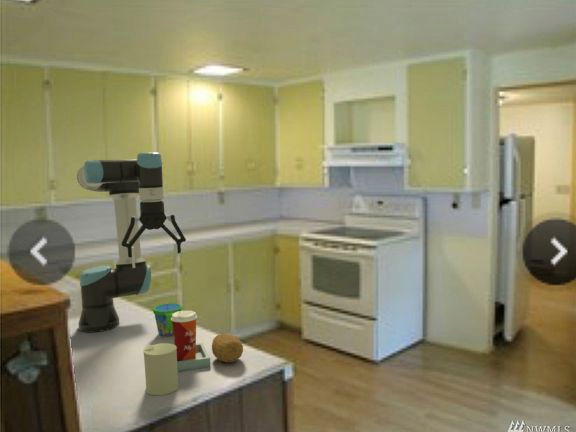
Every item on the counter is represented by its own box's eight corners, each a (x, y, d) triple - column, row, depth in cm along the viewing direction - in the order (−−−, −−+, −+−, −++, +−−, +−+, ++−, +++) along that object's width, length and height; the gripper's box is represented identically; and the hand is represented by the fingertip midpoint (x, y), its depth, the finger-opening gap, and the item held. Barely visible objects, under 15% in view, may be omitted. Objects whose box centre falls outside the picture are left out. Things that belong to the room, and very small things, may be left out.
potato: (233, 350, 172) (232, 327, 171) (250, 364, 160) (249, 339, 159) (205, 356, 167) (204, 332, 166) (221, 371, 155) (219, 345, 154)
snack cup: (183, 339, 184) (181, 311, 183) (153, 341, 182) (151, 314, 181) (183, 325, 199) (182, 300, 198) (155, 328, 197) (154, 302, 196)
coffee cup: (193, 365, 158) (191, 318, 156) (168, 363, 160) (166, 317, 158) (203, 354, 166) (201, 310, 165) (179, 353, 168) (177, 309, 166)
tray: (163, 356, 168) (163, 348, 167) (203, 350, 172) (202, 342, 172) (167, 373, 155) (167, 364, 154) (210, 366, 159) (210, 357, 158)
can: (148, 382, 149) (146, 342, 147) (180, 380, 150) (178, 340, 148) (142, 396, 140) (140, 354, 138) (176, 394, 140) (174, 352, 139)
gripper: (111, 203, 157) (115, 271, 159) (192, 199, 165) (195, 263, 167) (110, 201, 164) (115, 266, 166) (189, 197, 172) (191, 259, 174)
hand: (155, 265), depth 167 cm, fingers open, 13 cm apart
